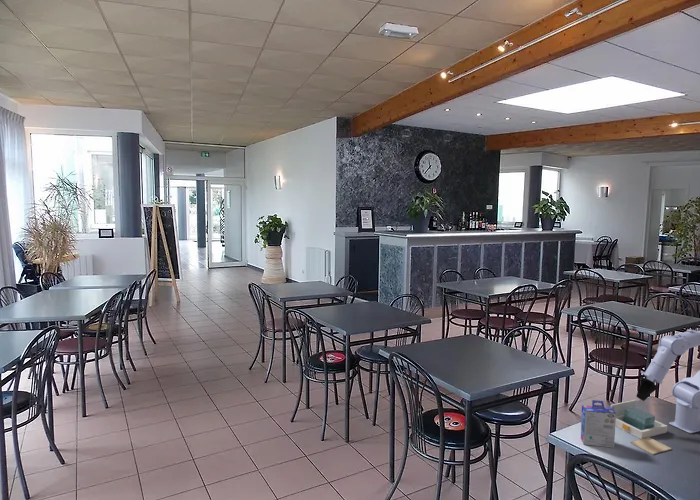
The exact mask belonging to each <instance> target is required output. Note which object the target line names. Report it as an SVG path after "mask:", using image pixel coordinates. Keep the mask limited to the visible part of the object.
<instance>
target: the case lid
mask: <svg viewBox="0 0 700 500" xmlns="http://www.w3.org/2000/svg"><path fill="white" fill-rule="evenodd" d="M637 402H638V401H637V399H632V400H627V401H623V402H622V401H621V402H616V403H612V404H610V406H609V407H611V408H612V409H613V410H614V411H615V413H616V416H620V415H624V414H625V409H629V408H633V407H635V408H637Z"/></svg>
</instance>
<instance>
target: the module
mask: <svg viewBox="0 0 700 500" xmlns="http://www.w3.org/2000/svg"><path fill="white" fill-rule="evenodd" d="M655 418H656V416H655V415H654V414H651V413H649V412H646V411H644V410H641V409H640V408H637V407H636V408H635V407H633V408H629V409H625V415H624V422H625V423H627V424H629V425H631V426H633V427H635V428H637V429H639V430H645V429H649V428H653V427H654V423H655V420H656V419H655Z"/></svg>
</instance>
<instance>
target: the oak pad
mask: <svg viewBox="0 0 700 500" xmlns="http://www.w3.org/2000/svg"><path fill="white" fill-rule="evenodd" d="M630 444H631V445H633V446H635V447H637V448H638V449H641V450H643V451H645V452H647V453H649V454H650V455H656V454H657V455H658V454H660V453H664V452H667V451H672V449H673V448H672V447H670V446H668V445H666V444H664V443H661V442H660V441H658V440H655V439H654V438H652V437H647V438H644V439H640V438H639V439H638V440H633V441H630Z"/></svg>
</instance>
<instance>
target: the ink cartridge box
mask: <svg viewBox="0 0 700 500" xmlns="http://www.w3.org/2000/svg"><path fill="white" fill-rule="evenodd" d="M591 402H592V404H591V405H585V404H584V405H583V404H582V405H581V417H580V418H581V420H580V421H581V423H580V440H581V442H582V444H583V445H585V446H586V445H587V446H595V447H596V446H597V447H605V448H615V438H616V437H615V436H616V426H615V423H616V413H615V411H614V410H613V409H612V408H611V407H610V406H605V404H604V401H603V400H596V399H592V400H591ZM597 403H598V404H597ZM599 404H600V405H599Z"/></svg>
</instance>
